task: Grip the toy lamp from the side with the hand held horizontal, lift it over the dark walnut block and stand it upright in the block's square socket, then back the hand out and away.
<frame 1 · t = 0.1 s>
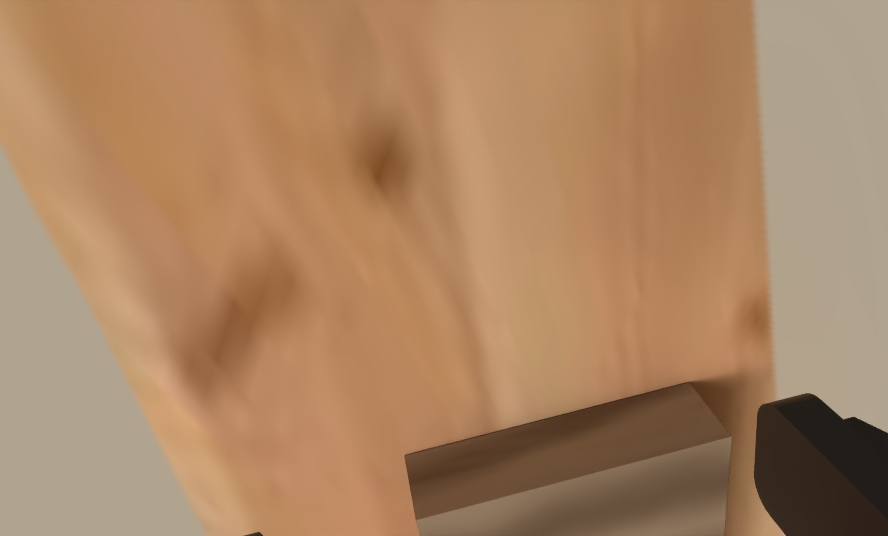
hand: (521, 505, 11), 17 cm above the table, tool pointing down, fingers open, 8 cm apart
socket block: (561, 533, 38), on the table
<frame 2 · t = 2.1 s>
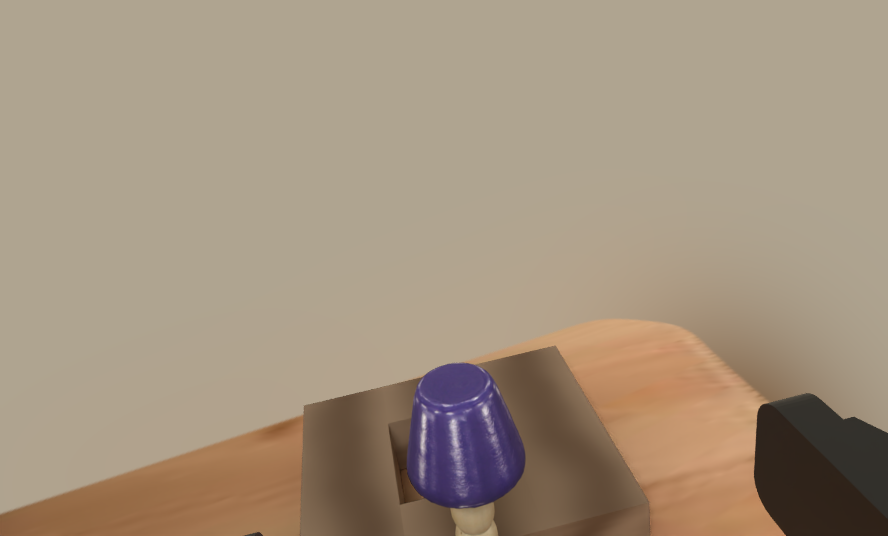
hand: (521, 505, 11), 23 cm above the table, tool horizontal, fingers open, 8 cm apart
socket block: (460, 495, 41), on the table
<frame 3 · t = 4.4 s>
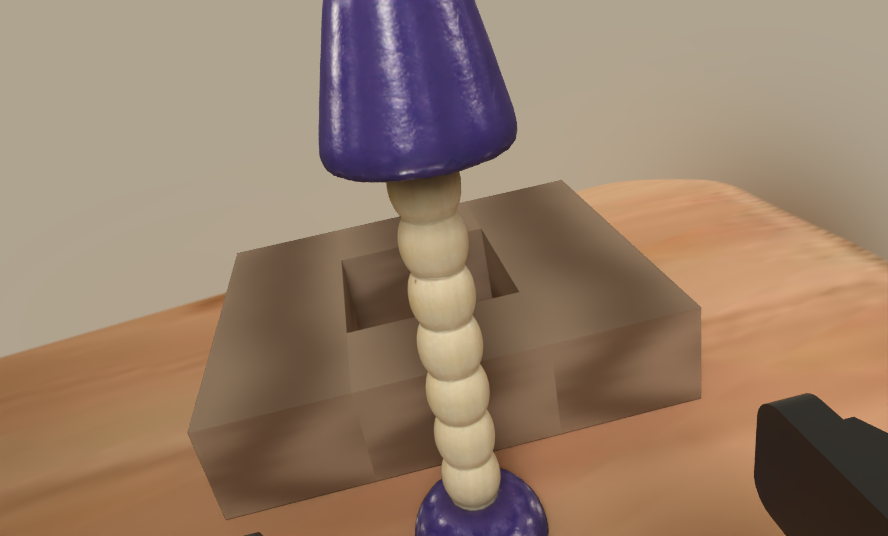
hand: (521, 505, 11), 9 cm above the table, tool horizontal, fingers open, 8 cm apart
toy lamp: (493, 535, 21), on the table
socket block: (437, 349, 31), on the table
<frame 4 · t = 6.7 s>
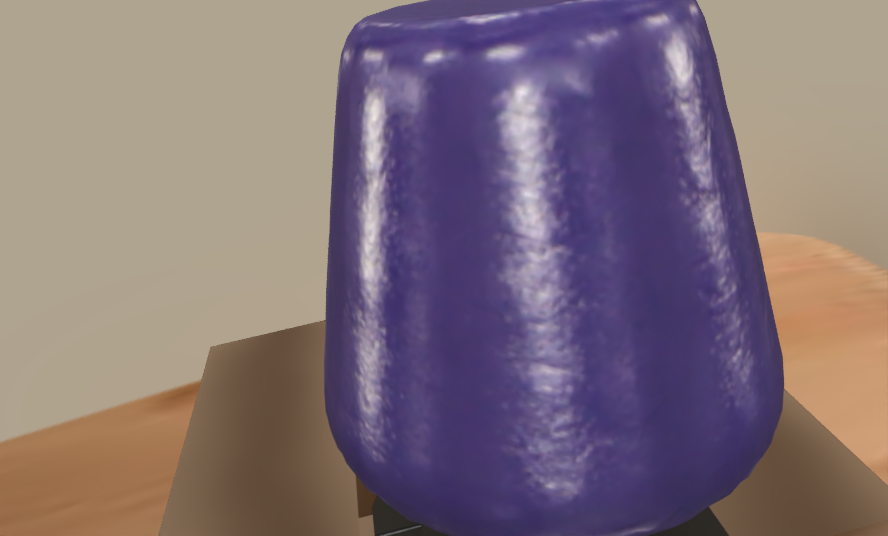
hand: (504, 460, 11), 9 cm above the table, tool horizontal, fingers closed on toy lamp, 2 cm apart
socket block: (480, 498, 23), on the table
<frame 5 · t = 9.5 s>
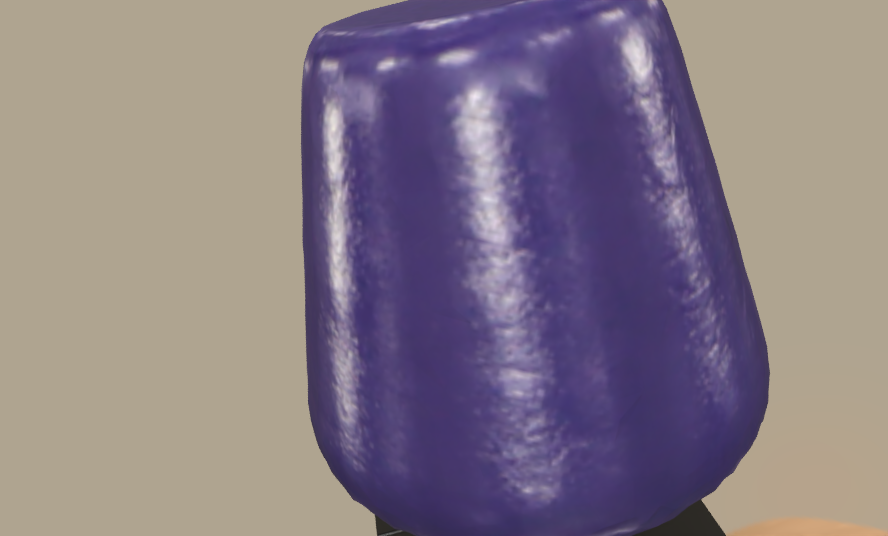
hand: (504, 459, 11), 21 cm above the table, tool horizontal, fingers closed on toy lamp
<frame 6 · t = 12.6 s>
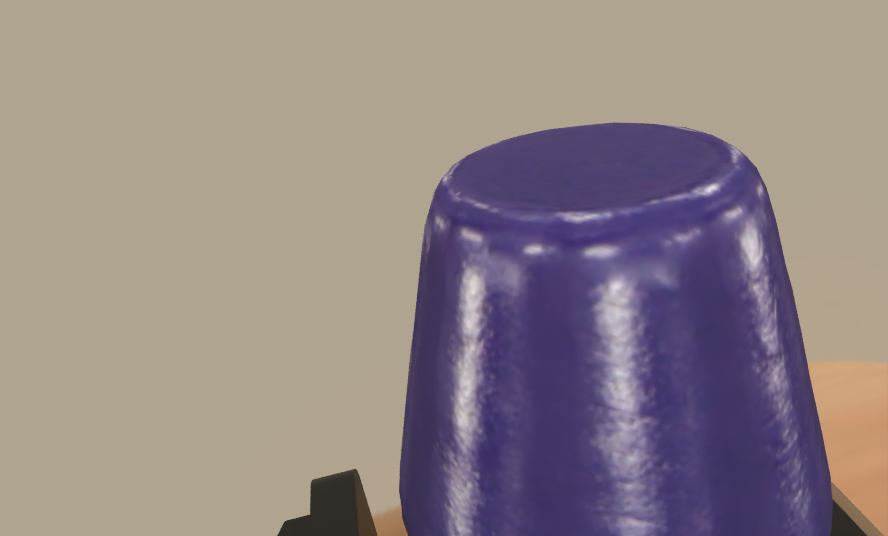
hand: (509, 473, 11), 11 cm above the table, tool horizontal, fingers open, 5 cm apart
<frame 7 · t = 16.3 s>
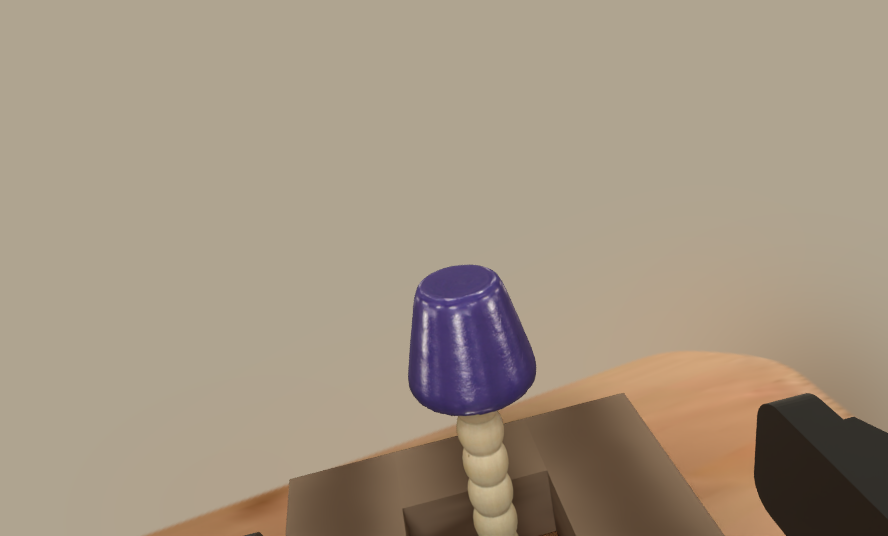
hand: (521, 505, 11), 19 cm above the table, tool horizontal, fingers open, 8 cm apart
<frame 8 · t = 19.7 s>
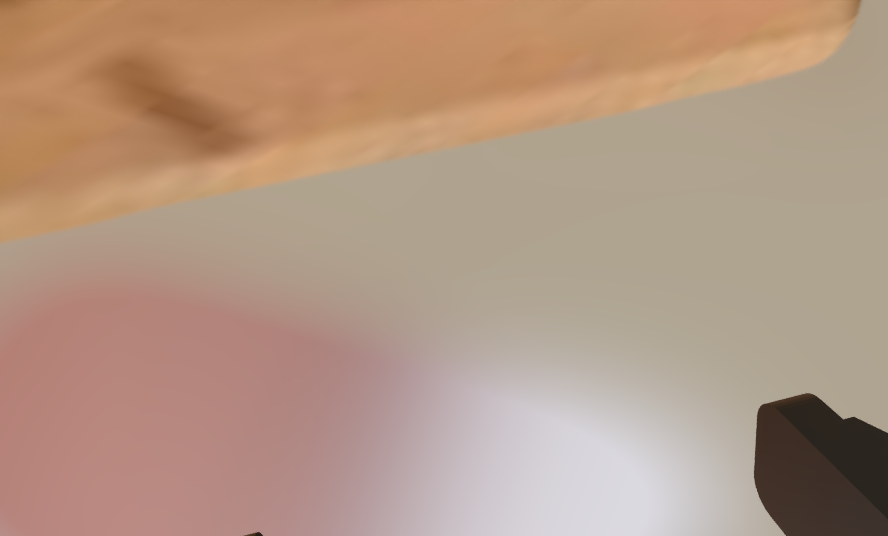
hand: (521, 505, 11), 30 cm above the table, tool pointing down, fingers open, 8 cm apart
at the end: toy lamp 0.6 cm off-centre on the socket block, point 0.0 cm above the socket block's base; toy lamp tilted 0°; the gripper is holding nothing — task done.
